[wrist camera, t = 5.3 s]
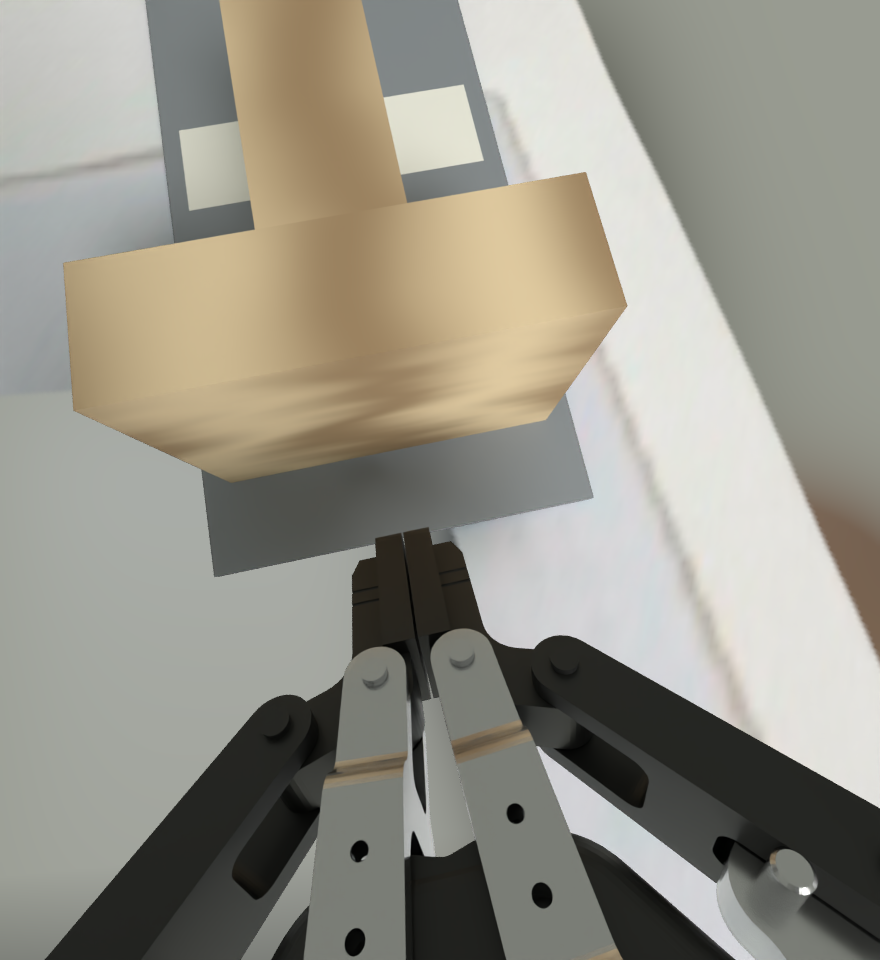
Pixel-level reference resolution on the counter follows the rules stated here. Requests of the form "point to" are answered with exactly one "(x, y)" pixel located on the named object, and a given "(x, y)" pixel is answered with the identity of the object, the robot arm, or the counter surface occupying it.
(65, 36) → the counter surface
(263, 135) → the oak T block
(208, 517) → the slate mat
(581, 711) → the robot arm
